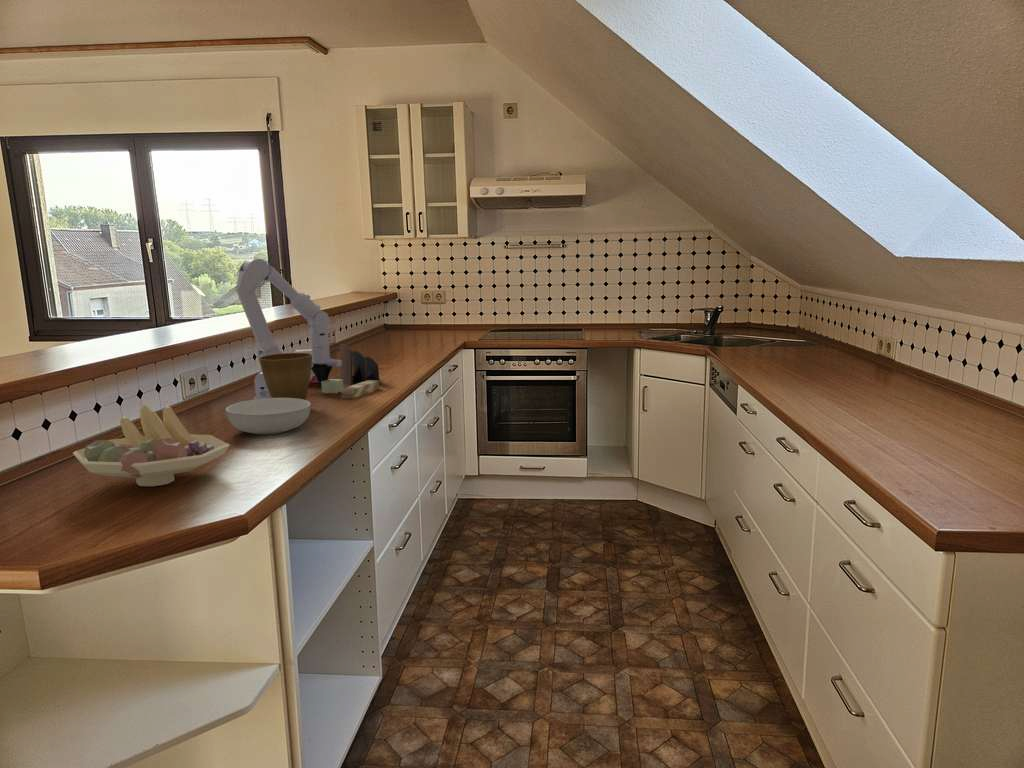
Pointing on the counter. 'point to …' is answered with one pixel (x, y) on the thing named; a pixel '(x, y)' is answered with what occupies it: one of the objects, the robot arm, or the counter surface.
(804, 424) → the counter surface
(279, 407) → the serving bowl
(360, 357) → the letter holder
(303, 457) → the counter surface
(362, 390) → the board
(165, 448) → the dish with food
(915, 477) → the counter surface
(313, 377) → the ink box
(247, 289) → the robot arm
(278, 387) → the plant pot
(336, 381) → the block
